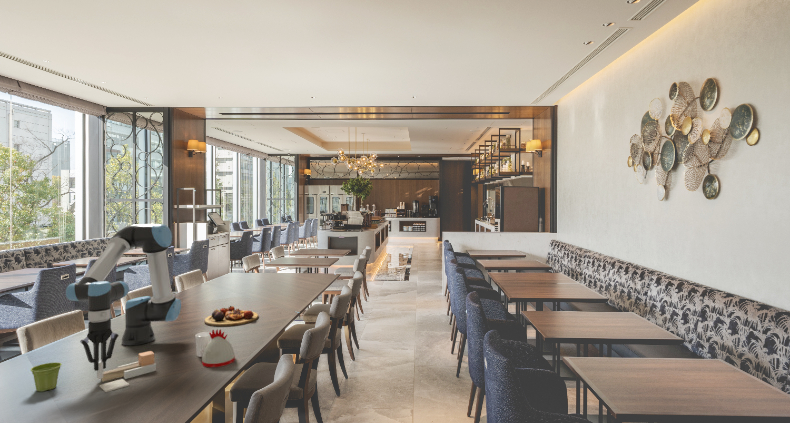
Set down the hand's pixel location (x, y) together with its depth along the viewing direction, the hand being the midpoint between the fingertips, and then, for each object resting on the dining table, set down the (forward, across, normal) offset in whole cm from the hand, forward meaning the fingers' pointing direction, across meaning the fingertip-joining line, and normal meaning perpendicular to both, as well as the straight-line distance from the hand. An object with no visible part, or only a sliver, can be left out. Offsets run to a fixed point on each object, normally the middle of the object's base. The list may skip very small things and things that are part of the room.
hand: (100, 377), depth 171 cm
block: (+2, +17, 0) cm, 17 cm away
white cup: (+2, +42, -1) cm, 43 cm away
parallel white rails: (+2, +14, 0) cm, 14 cm away
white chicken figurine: (+2, +43, -15) cm, 45 cm away
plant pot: (+2, -16, +9) cm, 18 cm away
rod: (+2, +8, 0) cm, 8 cm away
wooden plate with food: (+3, +83, +49) cm, 96 cm away
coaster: (+2, +2, -9) cm, 10 cm away
